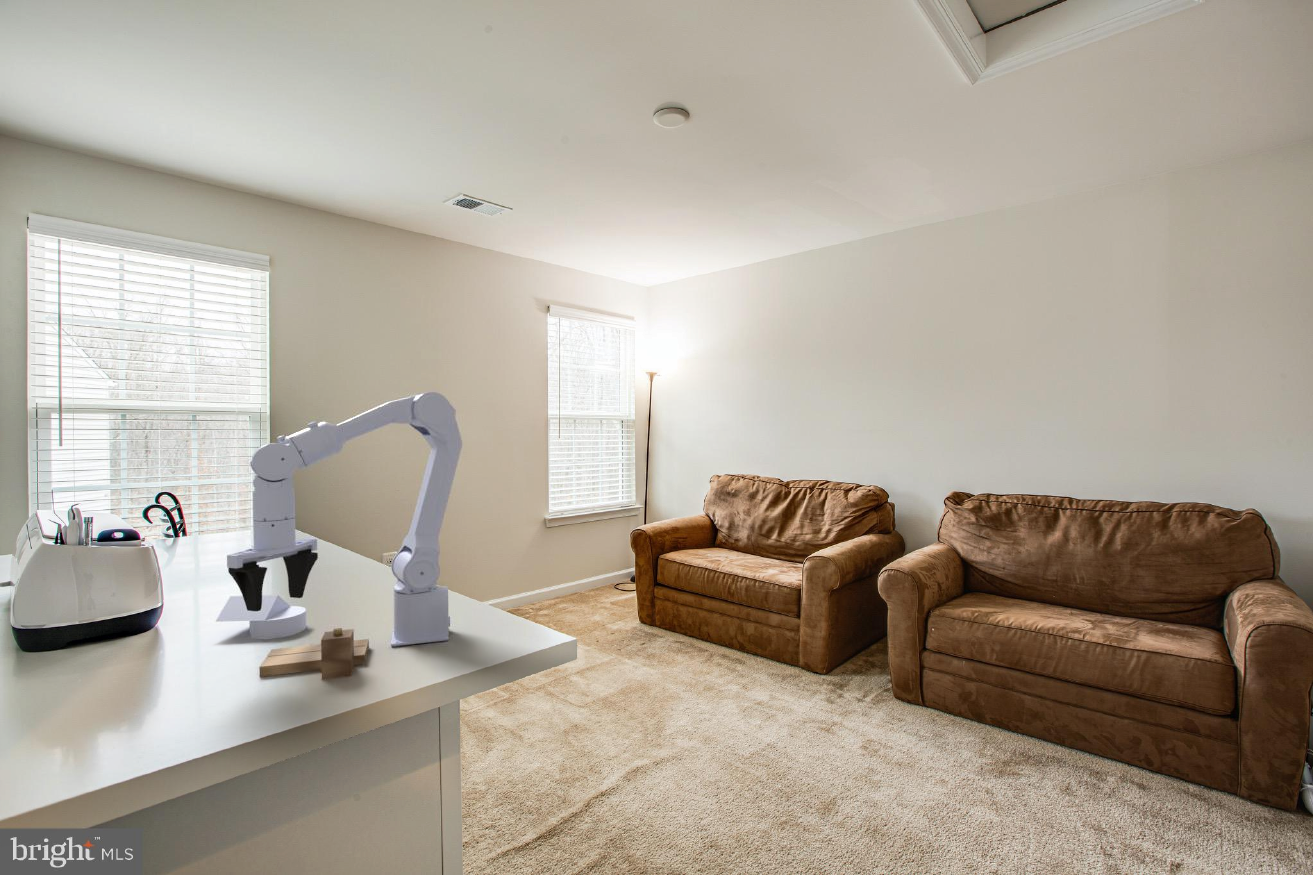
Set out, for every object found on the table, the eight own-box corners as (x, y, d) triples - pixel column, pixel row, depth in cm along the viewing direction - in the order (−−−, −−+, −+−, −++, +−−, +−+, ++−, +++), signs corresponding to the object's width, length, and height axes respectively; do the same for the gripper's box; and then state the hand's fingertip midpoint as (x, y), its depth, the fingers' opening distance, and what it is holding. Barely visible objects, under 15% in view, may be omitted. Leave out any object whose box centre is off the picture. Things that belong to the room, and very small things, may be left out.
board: (368, 647, 107) (368, 638, 107) (364, 663, 100) (364, 654, 100) (271, 658, 102) (271, 649, 102) (259, 676, 94) (259, 666, 94)
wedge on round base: (215, 640, 111) (291, 638, 112) (215, 602, 111) (290, 601, 112) (245, 624, 120) (314, 622, 121) (244, 589, 120) (314, 588, 121)
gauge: (357, 655, 103) (356, 615, 103) (351, 676, 95) (350, 631, 95) (330, 659, 102) (329, 617, 102) (321, 679, 93) (321, 634, 93)
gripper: (294, 511, 107) (295, 590, 108) (211, 524, 94) (212, 614, 94) (326, 513, 105) (327, 593, 106) (246, 526, 91) (248, 618, 92)
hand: (275, 603), depth 100 cm, fingers open, 7 cm apart
